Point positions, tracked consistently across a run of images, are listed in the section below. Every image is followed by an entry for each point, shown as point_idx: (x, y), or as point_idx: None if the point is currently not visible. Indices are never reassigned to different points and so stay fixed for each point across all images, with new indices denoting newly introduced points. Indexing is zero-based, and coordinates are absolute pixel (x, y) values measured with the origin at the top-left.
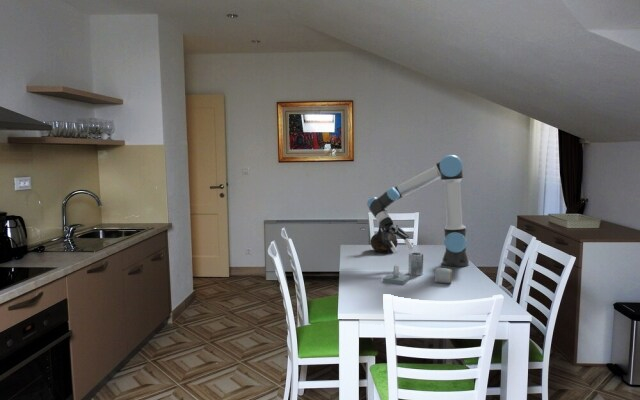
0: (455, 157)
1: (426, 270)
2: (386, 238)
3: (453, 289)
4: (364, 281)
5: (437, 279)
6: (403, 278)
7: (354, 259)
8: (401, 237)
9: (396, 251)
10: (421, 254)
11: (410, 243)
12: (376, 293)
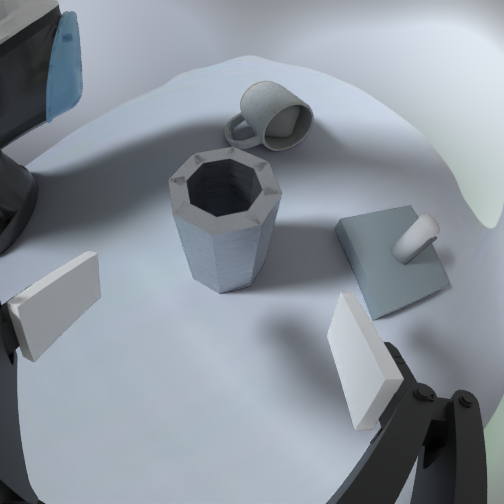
0: None
1: (133, 246)
2: (459, 421)
3: (312, 104)
4: (475, 346)
5: (305, 127)
6: (392, 219)
7: None
8: (14, 393)
9: (336, 308)
10: (215, 154)
11: (67, 270)
12: (493, 235)
